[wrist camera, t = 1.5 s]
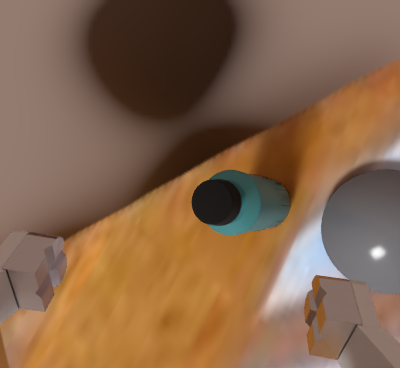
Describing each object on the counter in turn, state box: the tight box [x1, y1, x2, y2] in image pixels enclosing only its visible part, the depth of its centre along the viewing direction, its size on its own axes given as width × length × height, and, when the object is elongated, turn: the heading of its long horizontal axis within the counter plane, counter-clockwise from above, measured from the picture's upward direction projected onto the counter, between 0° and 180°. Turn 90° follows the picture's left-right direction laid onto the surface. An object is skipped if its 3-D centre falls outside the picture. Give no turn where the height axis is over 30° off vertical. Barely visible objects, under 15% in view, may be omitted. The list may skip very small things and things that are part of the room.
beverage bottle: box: [192, 170, 291, 235], centre depth 40 cm, size 6×7×20 cm
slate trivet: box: [321, 170, 400, 294], centre depth 43 cm, size 14×14×1 cm
